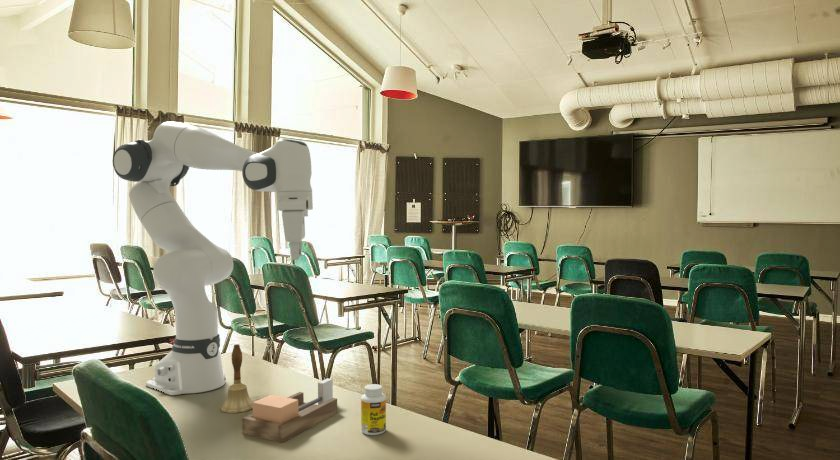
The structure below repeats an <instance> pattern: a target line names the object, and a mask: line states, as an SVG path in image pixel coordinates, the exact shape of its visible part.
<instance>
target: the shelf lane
mask: <svg viewBox="0 0 840 460" xmlns="http://www.w3.org/2000/svg"><path fill="white" fill-rule="evenodd" d="M287 398H292V399H297V400H298V407H300V406H302V405H304V404H306V403H307V402H304V400H305V399H304V392H302V391H299V392H297V393H294V394H292V395H289V396H288V397H287ZM337 413H338V398H335V397H333V398H332V399H330V400H328V401H326V402H324V403H322V404H320V405H318V404H314V405H312V406H310V407H308V408H306V409H304V410H302V411H300V412H299V416H297V417H295V418H293V419H291V420H289V421H287V422H285V423H283V424H280V423H276V422H271V421H266V420H262V419H257V418H253V412H252V413H250V414H248V415H247V414H246V416H244V417H242V418H241V422H242V426H241V427H242V428H241V429H242V432H241V433H242V434H244V435H248V436H252V437H253V436H254V437H257V438H260V439H261V438H262V439H265V440H270V441H274V442H279V443H281V444H282V443H286V441H289V440H291V439H292V438H294V437H296V436H298V435H300V434H301V433H304V431H306V430H307V431H308V430H309V429H311V428H312V427H314V426H316V425H318V424H320V423H322V422H323V421H325V420H327V419H328V418H330V417H332V416H334V415H335V414H337Z"/></svg>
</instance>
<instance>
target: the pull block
mask: <svg viewBox="0 0 840 460" xmlns="http://www.w3.org/2000/svg"><path fill="white" fill-rule="evenodd" d="M333 383H334V381H333V379H332V378H328V377H327V378H325V379H323V380H321V381H318V382H317V397H316V398H315V399H312V400H310V401H308V402H305V403H306V404H304V405H302V406H300V407H298V400H297V399H292V398H287V397H286V396H281V395H275V394H269V395H267V396H265V397H263V398H260V399H258V400H255V401H253V409H252V413H253V418H257V419H262V420H266V421H271V422H276V423H280V424H283V423H285V422H287V421H289V420H291V419H293V418H295V417H297V416H299V412H300V411H302V410H304V409H306V408H308V407H310V406H312V405H314V404H315V405H320V404H322V403H324V402H326V401H328V400H330V399H332V398H334V395H333V394H334V393H333V391H334V390H333V385H334V384H333Z"/></svg>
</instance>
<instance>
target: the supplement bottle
mask: <svg viewBox="0 0 840 460" xmlns="http://www.w3.org/2000/svg"><path fill="white" fill-rule="evenodd" d="M360 406H361V407H360V414H361V415H360V418H361V421H360V422H361V425H360V430H361V432H362V433H363V434H365V435H367V436H379V435H381V434H383V433H385V431H386V429H387V411H386V410H387V397H386V394H384V393H383V385H381V384H378V383H377V384H376V383H372V384H367V385H365V386H364V394H362V395H361V397H360Z"/></svg>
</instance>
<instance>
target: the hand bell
mask: <svg viewBox="0 0 840 460" xmlns="http://www.w3.org/2000/svg"><path fill="white" fill-rule="evenodd" d="M242 363H243V352H242V348H241V347H240V344H237V343H236V344H234V345H233V348H232V352H231V364H232V367H233V383H232V384H231V385H230V386H228V388H227V389H228V390H227V396H226V400H225V402H224V403H223V404H222V405H221V407H220V411H221V412H223V413H228V414H238V413H244V412H247V411H250V410H253V402H254V401H253V400H252V399H251V397H250V395H249V393H248V387H247V385H246V384H245V383H242V379H241V376H242V375H241V368H242Z"/></svg>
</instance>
